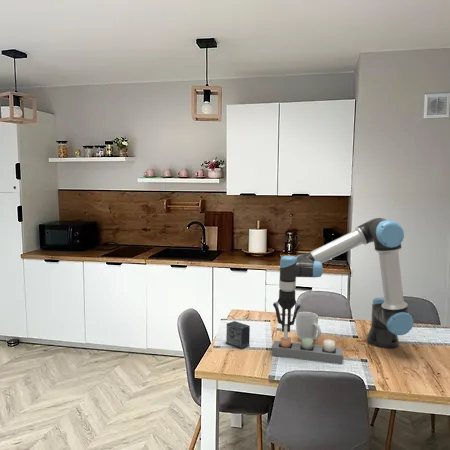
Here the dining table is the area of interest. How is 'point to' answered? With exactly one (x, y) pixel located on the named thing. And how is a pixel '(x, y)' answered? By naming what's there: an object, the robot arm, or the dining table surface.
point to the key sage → (307, 343)
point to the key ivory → (329, 345)
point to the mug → (307, 325)
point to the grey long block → (307, 353)
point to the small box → (238, 334)
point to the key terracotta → (285, 342)
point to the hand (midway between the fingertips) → (285, 338)
